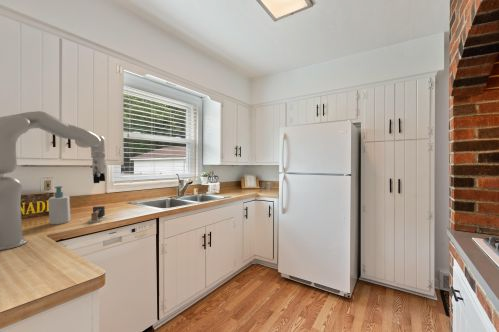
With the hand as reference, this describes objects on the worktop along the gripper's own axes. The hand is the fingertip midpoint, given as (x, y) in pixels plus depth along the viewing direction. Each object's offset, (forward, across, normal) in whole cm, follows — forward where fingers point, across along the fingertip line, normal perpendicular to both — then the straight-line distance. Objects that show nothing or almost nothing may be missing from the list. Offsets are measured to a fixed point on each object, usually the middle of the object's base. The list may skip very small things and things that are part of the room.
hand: (99, 182), depth 154 cm
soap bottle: (+24, -5, +21) cm, 32 cm away
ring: (+22, -2, 0) cm, 22 cm away
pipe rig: (+24, -5, 0) cm, 24 cm away
